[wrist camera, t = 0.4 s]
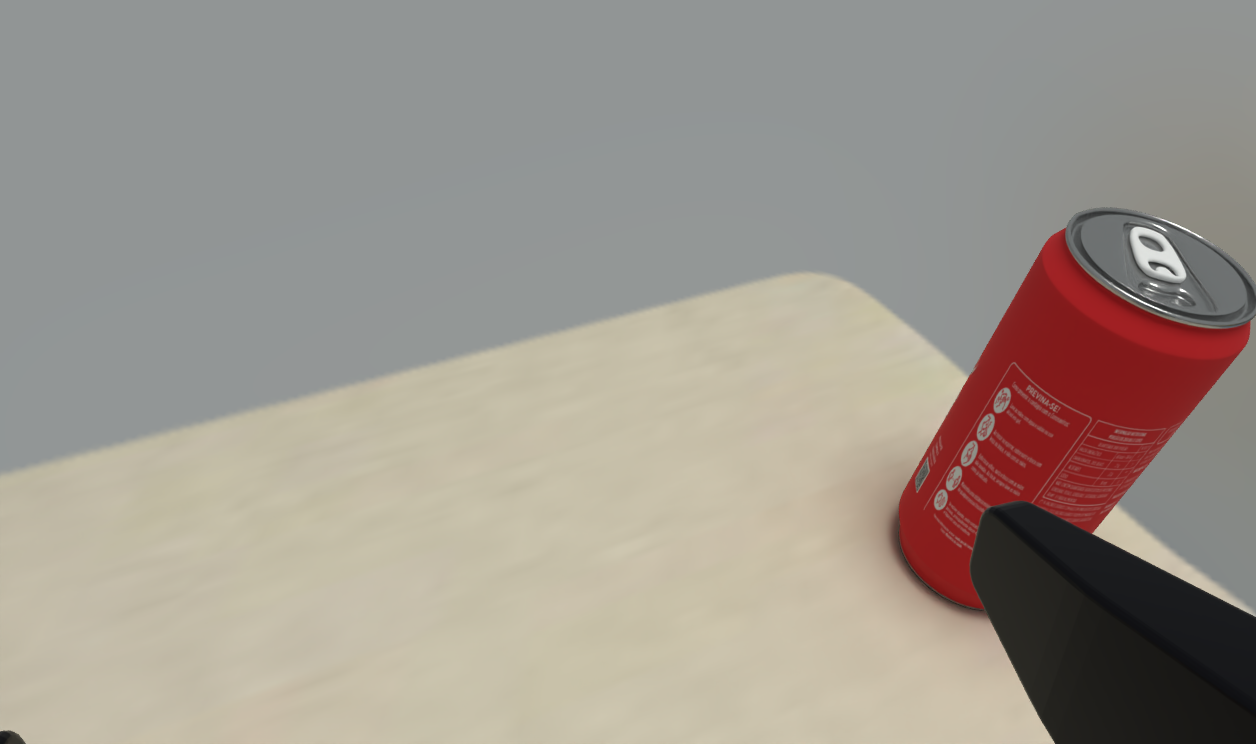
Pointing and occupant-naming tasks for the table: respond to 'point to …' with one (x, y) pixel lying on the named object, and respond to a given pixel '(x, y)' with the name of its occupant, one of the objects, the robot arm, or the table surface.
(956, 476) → the beverage can
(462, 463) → the table surface
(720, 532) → the table surface
